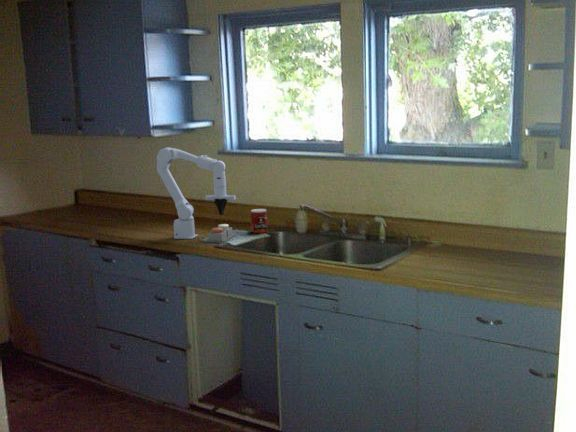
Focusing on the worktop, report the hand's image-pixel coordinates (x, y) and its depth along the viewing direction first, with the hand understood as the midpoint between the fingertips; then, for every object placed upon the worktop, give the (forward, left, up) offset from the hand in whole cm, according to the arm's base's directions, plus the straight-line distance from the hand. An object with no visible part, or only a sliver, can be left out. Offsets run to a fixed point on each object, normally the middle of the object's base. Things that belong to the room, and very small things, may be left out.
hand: (221, 214), depth 320 cm
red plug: (+1, -9, -9) cm, 13 cm away
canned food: (+15, +10, -11) cm, 21 cm away
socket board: (+1, -5, -10) cm, 12 cm away
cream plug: (+1, -1, -9) cm, 9 cm away
